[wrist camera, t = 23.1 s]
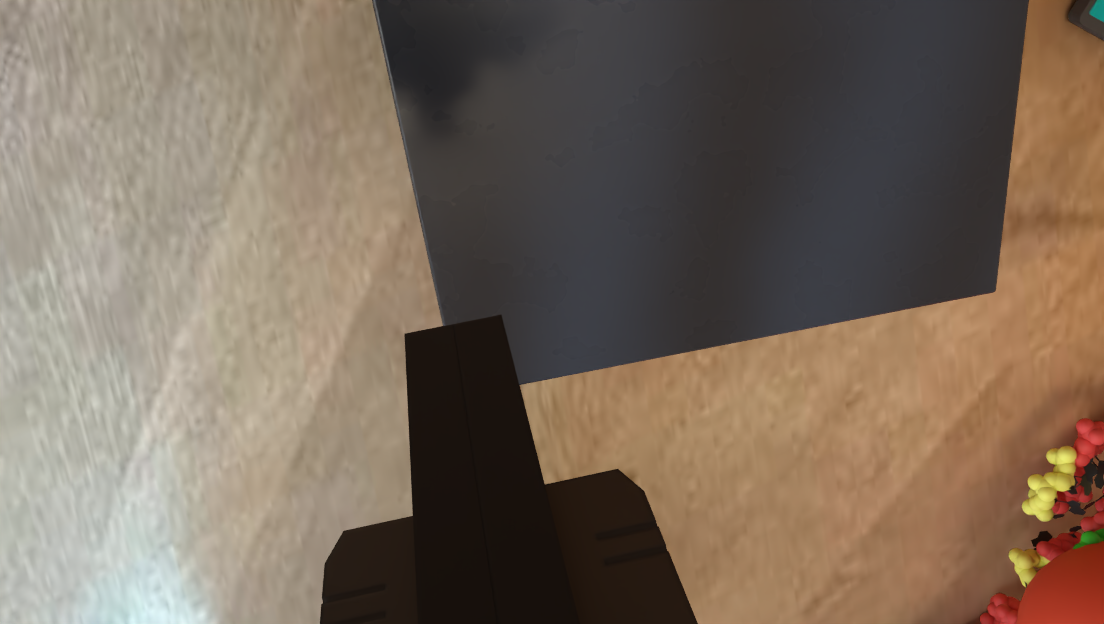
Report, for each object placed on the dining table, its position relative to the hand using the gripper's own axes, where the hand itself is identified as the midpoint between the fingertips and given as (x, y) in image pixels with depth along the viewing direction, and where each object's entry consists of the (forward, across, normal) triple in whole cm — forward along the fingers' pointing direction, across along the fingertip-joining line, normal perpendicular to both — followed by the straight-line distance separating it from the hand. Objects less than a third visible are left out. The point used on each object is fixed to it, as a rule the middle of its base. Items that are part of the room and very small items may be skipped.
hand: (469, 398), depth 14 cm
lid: (+11, +8, 0) cm, 13 cm away
